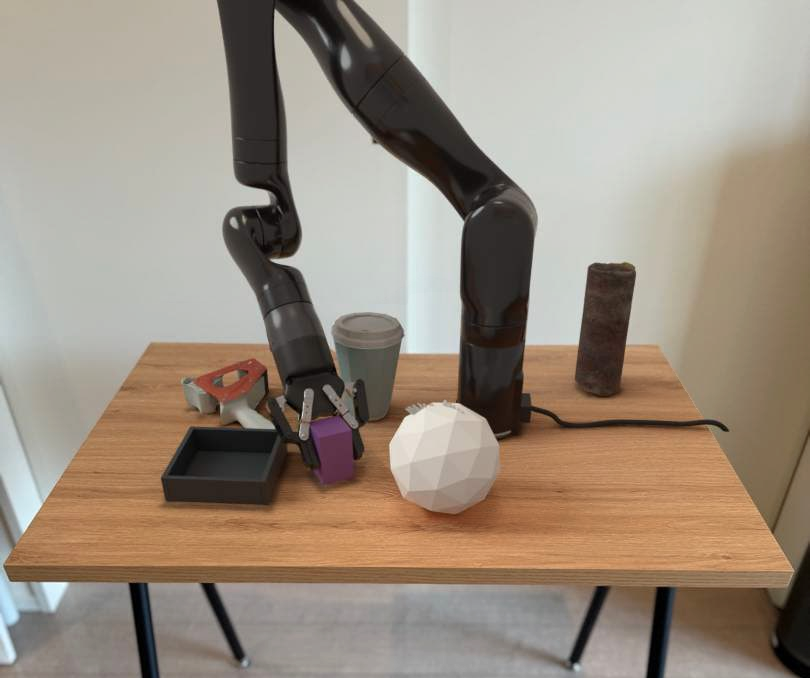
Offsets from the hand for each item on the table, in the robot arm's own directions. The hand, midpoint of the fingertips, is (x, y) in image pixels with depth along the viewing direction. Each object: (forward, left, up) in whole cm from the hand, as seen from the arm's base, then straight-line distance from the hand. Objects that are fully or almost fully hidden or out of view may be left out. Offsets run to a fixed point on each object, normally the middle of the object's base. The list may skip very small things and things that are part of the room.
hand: (337, 463), depth 106 cm
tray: (+15, 0, -3) cm, 15 cm away
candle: (-38, -32, -3) cm, 50 cm away
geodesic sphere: (-14, +3, -3) cm, 15 cm away
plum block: (+1, -1, -3) cm, 4 cm away
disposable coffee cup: (-2, -21, -3) cm, 21 cm away
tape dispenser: (+18, -18, -3) cm, 25 cm away
